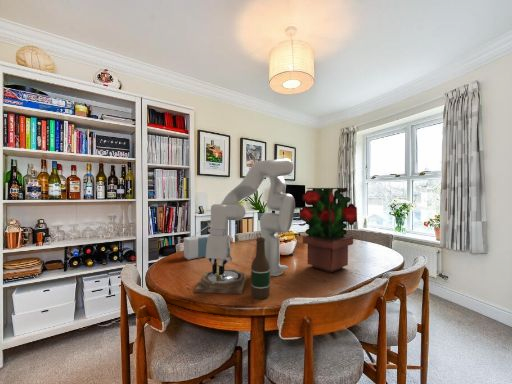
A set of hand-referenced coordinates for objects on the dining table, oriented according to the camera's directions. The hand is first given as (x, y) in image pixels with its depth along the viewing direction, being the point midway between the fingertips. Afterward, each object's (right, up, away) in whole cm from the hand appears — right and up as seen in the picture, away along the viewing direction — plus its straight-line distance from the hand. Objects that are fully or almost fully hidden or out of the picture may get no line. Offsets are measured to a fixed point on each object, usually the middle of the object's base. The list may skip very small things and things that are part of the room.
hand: (218, 273), depth 107 cm
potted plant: (+57, -7, +29) cm, 64 cm away
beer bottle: (+19, -7, -6) cm, 21 cm away
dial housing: (+1, -7, +6) cm, 9 cm away
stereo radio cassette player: (-20, -6, +51) cm, 55 cm away
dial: (+1, -5, +6) cm, 8 cm away
